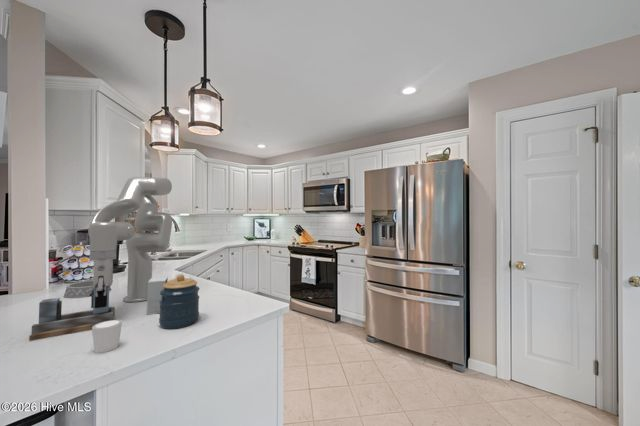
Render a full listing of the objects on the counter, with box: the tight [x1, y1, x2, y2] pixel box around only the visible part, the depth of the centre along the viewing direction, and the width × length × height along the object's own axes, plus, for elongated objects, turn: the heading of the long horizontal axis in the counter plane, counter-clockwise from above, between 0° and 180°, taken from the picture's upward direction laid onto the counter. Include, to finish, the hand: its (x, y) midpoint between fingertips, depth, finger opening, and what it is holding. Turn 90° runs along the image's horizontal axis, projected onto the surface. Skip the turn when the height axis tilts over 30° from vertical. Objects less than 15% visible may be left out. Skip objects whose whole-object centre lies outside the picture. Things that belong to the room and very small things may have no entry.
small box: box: [146, 276, 168, 315], centre depth 106 cm, size 8×6×13 cm
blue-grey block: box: [90, 285, 110, 314], centre depth 93 cm, size 5×4×9 cm
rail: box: [28, 297, 116, 342], centre depth 90 cm, size 20×12×10 cm, turn 126°
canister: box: [158, 273, 200, 330], centre depth 94 cm, size 13×13×18 cm
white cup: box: [91, 319, 123, 354], centre depth 75 cm, size 7×7×7 cm
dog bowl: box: [62, 279, 112, 299], centre depth 131 cm, size 17×18×5 cm
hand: (101, 305), depth 93 cm, fingers closed on blue-grey block, 4 cm apart
